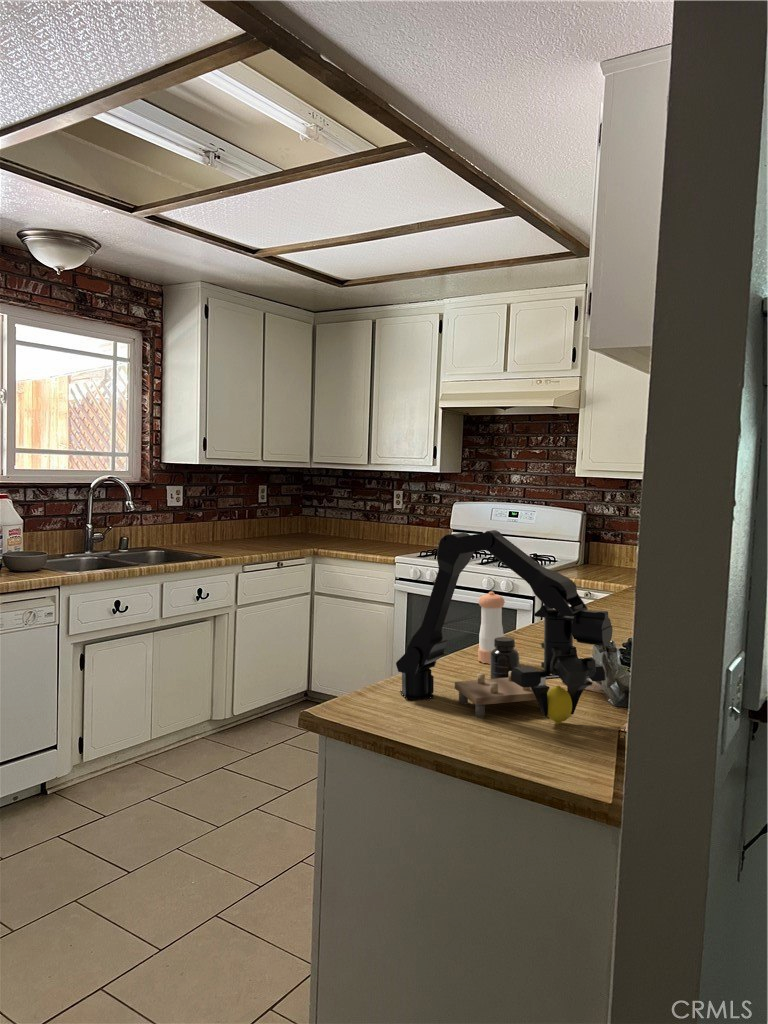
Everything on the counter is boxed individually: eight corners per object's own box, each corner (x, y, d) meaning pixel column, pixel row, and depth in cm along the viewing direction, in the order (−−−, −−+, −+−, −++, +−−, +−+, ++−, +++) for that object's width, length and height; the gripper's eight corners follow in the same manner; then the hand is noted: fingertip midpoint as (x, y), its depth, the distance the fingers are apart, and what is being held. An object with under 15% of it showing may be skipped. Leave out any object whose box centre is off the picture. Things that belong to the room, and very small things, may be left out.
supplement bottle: (497, 683, 188) (497, 634, 188) (523, 687, 185) (523, 637, 184) (485, 690, 182) (485, 640, 182) (513, 694, 179) (513, 643, 178)
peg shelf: (476, 719, 161) (476, 688, 161) (454, 701, 173) (454, 673, 173) (554, 711, 165) (554, 682, 165) (528, 694, 178) (528, 667, 178)
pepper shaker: (504, 658, 213) (504, 589, 212) (505, 665, 205) (505, 594, 204) (477, 658, 213) (477, 589, 212) (478, 664, 206) (478, 593, 205)
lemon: (552, 718, 161) (552, 680, 161) (576, 723, 158) (576, 684, 157) (539, 725, 157) (539, 686, 157) (564, 730, 154) (564, 691, 153)
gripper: (534, 651, 146) (533, 732, 147) (621, 645, 151) (620, 723, 152) (509, 639, 157) (509, 714, 158) (591, 634, 162) (591, 707, 163)
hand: (558, 715), depth 157 cm, fingers closed on lemon, 5 cm apart
